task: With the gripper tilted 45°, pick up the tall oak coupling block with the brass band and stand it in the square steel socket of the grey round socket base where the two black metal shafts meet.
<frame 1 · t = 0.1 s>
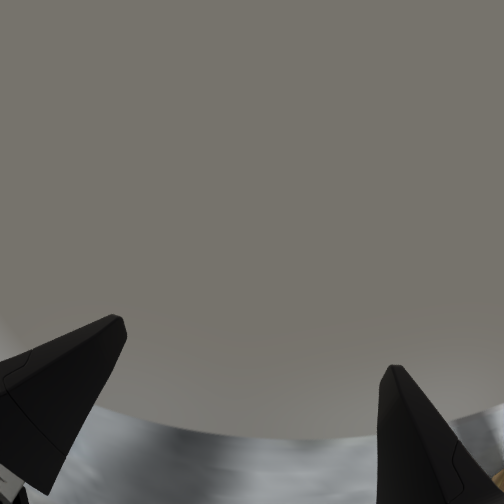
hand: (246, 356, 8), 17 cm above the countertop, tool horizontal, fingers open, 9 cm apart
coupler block: (495, 500, 9), on the countertop
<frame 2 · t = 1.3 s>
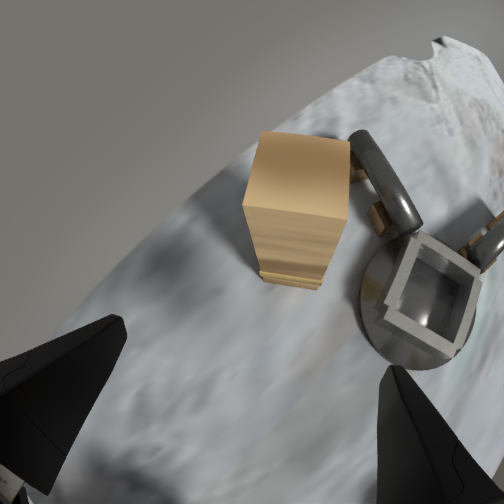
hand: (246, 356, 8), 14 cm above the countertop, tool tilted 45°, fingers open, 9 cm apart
shaft a: (375, 198, 25), on the countertop
grey round socket base: (421, 301, 21), on the countertop
shaft b: (484, 247, 22), on the countertop
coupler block: (294, 260, 24), on the countertop
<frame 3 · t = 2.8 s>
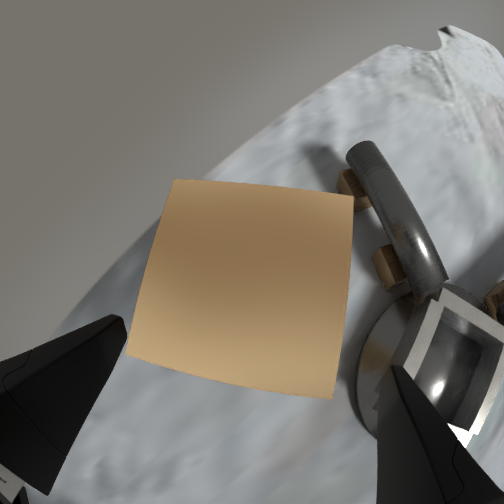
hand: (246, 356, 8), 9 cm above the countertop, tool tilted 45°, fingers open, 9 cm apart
shaft a: (382, 234, 19), on the countertop
grey round socket base: (435, 371, 15), on the countertop
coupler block: (271, 328, 17), on the countertop
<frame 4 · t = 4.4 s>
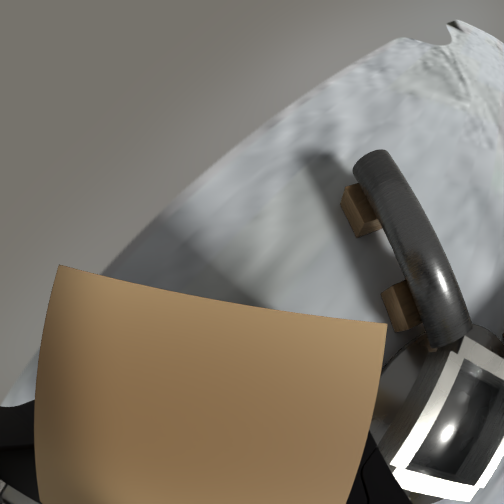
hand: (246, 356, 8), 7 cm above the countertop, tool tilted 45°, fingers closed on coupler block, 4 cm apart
shaft a: (394, 263, 15), on the countertop
grey round socket base: (445, 420, 12), on the countertop
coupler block: (258, 378, 14), on the countertop, touching gripper
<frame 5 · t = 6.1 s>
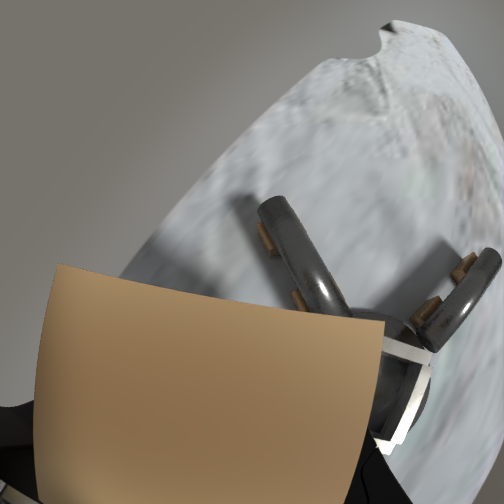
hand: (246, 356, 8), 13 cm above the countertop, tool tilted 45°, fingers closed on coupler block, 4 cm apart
shaft a: (301, 273, 23), on the countertop
grey round socket base: (360, 388, 19), on the countertop
shaft b: (446, 304, 20), on the countertop
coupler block: (258, 378, 14), point 7 cm above the countertop, touching gripper
when the fingers open (9 cm above the countertop, at t = 8.2 s): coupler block drops 1 cm, resting on grey round socket base.
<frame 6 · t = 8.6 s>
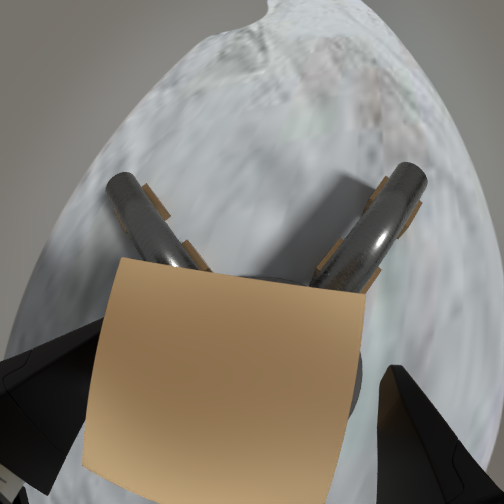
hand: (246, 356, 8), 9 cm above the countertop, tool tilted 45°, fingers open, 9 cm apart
shaft a: (169, 251, 20), on the countertop
grey round socket base: (262, 374, 16), on the countertop
shaft b: (364, 249, 18), on the countertop
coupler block: (261, 375, 15), point 1 cm above the countertop, touching grey round socket base
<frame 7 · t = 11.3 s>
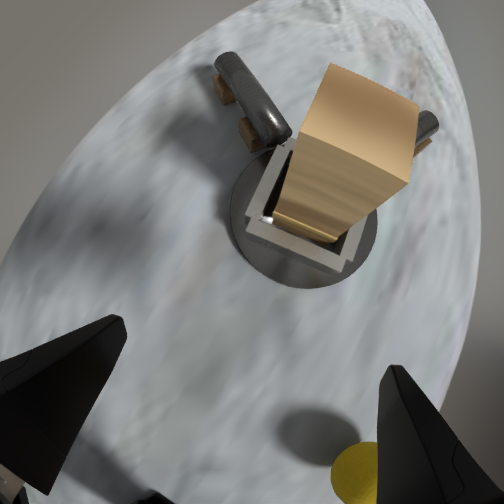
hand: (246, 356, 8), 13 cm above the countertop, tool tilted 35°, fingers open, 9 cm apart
shaft a: (249, 116, 24), on the countertop
grey round socket base: (305, 213, 23), on the countertop
lemon: (350, 452, 19), on the countertop
shaft b: (387, 156, 24), on the countertop
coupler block: (308, 209, 22), point 1 cm above the countertop, touching grey round socket base
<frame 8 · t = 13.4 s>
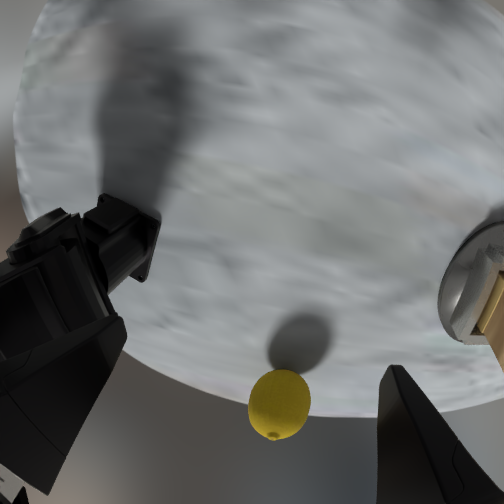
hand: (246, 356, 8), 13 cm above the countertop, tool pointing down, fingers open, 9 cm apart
grey round socket base: (492, 285, 18), on the countertop
lemon: (285, 370, 27), on the countertop
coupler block: (496, 290, 17), point 1 cm above the countertop, touching grey round socket base
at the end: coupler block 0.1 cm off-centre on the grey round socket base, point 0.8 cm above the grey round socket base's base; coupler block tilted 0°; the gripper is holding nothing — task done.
